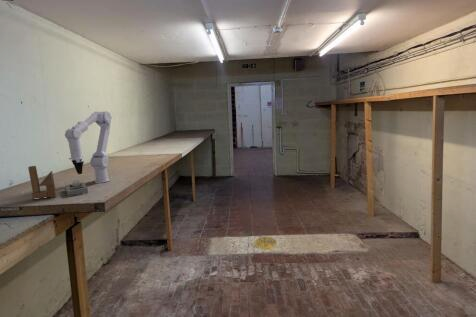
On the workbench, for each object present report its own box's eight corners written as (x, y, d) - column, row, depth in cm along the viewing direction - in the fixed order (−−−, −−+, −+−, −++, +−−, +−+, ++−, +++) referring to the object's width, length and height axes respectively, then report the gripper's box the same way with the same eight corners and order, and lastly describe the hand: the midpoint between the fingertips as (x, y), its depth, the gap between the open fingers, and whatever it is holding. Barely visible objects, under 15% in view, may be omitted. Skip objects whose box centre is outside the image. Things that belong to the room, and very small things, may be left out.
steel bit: (72, 190, 195) (70, 178, 193) (80, 189, 197) (78, 177, 195) (73, 191, 191) (71, 180, 190) (81, 190, 193) (79, 178, 192)
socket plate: (66, 190, 196) (65, 185, 195) (84, 186, 200) (83, 182, 200) (68, 196, 182) (67, 191, 181) (88, 193, 187) (87, 188, 186)
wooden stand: (55, 197, 183) (49, 165, 179) (32, 200, 180) (26, 167, 176) (56, 195, 186) (51, 163, 183) (34, 198, 183) (28, 166, 180)
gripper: (66, 149, 195) (70, 171, 198) (68, 152, 183) (72, 176, 186) (79, 147, 199) (83, 169, 202) (82, 150, 187) (86, 174, 189)
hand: (79, 172), depth 194 cm, fingers open, 7 cm apart
